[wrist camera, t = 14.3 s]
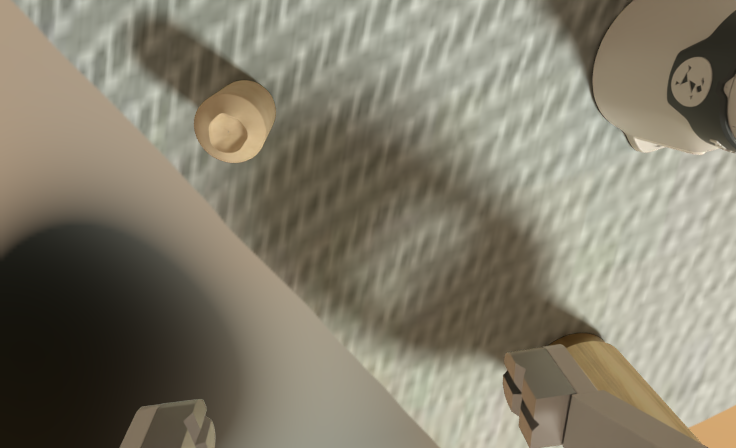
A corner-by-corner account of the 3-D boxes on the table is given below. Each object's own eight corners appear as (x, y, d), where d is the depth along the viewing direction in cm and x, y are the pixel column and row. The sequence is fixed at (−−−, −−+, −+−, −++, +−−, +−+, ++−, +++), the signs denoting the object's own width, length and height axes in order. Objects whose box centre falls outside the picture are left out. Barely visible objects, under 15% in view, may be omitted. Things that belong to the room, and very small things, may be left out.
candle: (215, 78, 39) (183, 94, 30) (275, 81, 39) (261, 98, 30) (221, 136, 41) (193, 167, 32) (277, 137, 42) (265, 169, 33)
